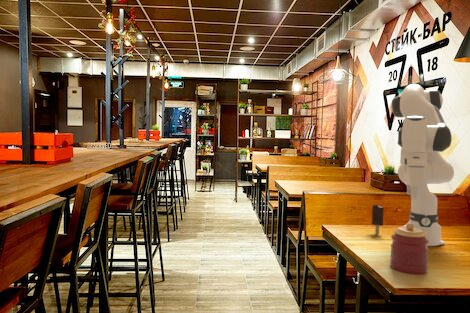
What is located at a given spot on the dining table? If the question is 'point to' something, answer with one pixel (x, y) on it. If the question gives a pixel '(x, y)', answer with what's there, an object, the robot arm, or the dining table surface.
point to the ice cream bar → (377, 217)
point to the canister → (409, 250)
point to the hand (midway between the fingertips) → (411, 196)
